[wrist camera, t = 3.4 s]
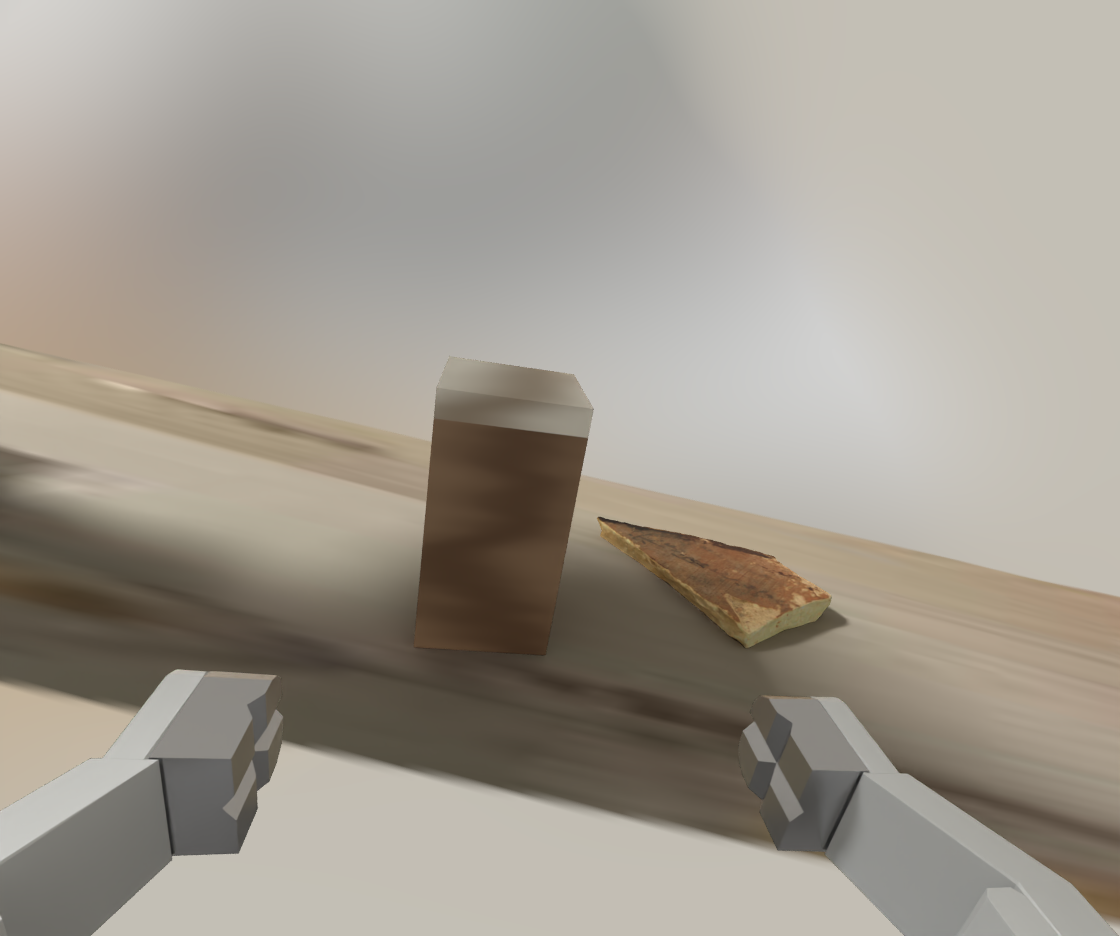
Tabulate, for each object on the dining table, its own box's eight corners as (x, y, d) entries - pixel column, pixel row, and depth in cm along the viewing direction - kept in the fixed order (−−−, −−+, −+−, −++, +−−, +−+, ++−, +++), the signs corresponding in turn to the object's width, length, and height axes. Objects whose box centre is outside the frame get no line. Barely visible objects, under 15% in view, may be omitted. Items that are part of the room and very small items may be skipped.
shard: (591, 539, 32) (597, 511, 31) (684, 522, 36) (691, 497, 36) (737, 661, 24) (749, 627, 23) (834, 620, 28) (847, 591, 28)
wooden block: (413, 647, 21) (436, 387, 17) (428, 573, 25) (449, 356, 22) (545, 655, 21) (593, 408, 18) (536, 582, 26) (573, 374, 22)
